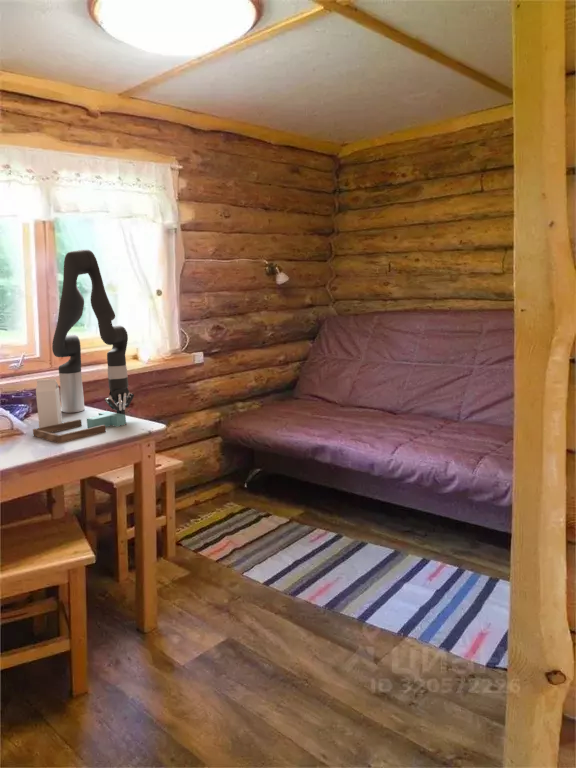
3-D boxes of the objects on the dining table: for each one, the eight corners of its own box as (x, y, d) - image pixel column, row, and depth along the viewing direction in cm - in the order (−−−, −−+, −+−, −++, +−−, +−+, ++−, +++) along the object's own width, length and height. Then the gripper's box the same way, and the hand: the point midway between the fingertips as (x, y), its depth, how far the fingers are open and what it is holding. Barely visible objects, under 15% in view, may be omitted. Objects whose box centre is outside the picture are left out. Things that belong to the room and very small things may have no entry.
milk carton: (58, 428, 233) (54, 380, 229) (39, 430, 232) (34, 381, 228) (62, 424, 240) (58, 377, 236) (43, 425, 239) (39, 378, 235)
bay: (33, 436, 223) (32, 429, 222) (79, 425, 237) (79, 419, 237) (58, 443, 212) (58, 436, 211) (105, 431, 226) (105, 425, 226)
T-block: (81, 427, 235) (80, 417, 234) (107, 420, 244) (107, 411, 243) (99, 431, 227) (98, 420, 226) (126, 424, 236) (125, 414, 236)
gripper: (125, 373, 246) (129, 414, 249) (97, 378, 236) (101, 421, 239) (137, 374, 241) (140, 416, 244) (109, 379, 231) (113, 423, 234)
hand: (121, 419), depth 242 cm, fingers closed
